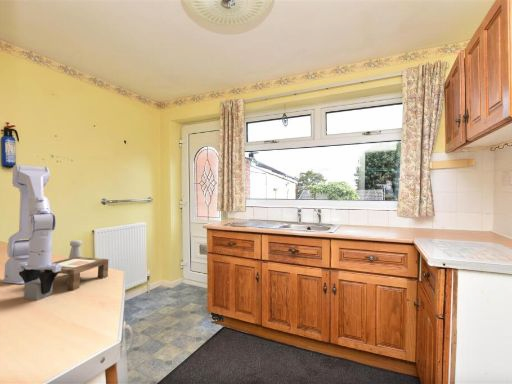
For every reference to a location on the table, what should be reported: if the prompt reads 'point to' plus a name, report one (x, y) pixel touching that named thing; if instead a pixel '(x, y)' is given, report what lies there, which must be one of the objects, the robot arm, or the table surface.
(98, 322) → the table surface
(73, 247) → the salt shaker
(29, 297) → the pale grey cube
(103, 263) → the trapdoor frame
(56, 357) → the table surface
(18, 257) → the robot arm
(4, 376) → the table surface
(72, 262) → the trapdoor
